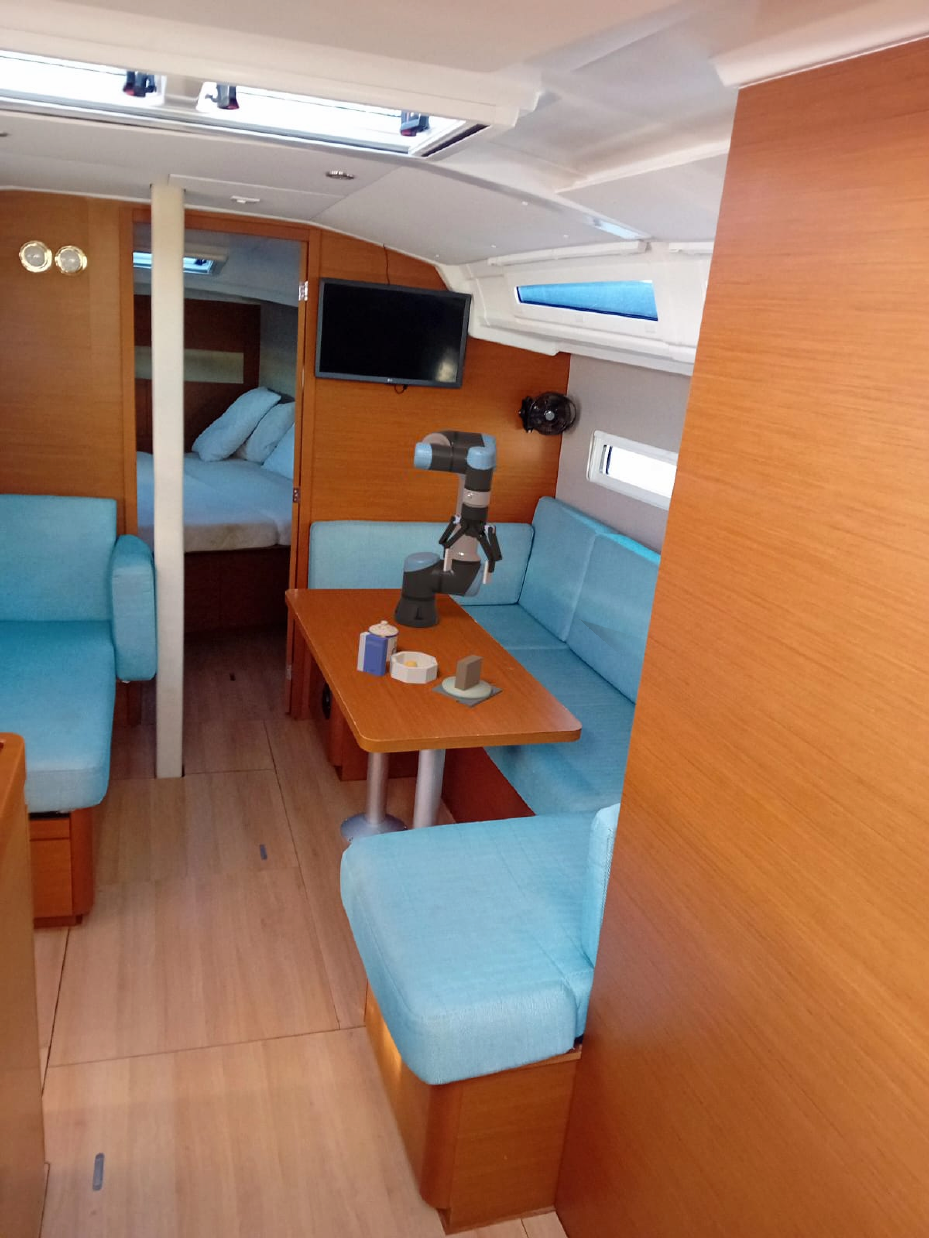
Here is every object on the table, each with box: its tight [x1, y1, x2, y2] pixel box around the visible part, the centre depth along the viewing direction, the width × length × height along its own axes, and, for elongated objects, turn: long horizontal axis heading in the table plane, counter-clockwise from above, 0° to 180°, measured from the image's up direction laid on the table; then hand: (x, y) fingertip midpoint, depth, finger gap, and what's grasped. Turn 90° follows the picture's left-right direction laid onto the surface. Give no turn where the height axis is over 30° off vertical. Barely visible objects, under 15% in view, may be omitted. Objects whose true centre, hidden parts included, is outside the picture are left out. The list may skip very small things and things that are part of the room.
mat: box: [430, 683, 503, 708], centre depth 265 cm, size 16×14×1 cm
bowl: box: [388, 650, 439, 685], centre depth 270 cm, size 13×13×5 cm
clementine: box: [405, 661, 418, 667], centre depth 270 cm, size 4×4×4 cm
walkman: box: [356, 631, 388, 677], centre depth 267 cm, size 8×3×12 cm, turn 64°
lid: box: [441, 654, 492, 700], centre depth 263 cm, size 14×14×9 cm
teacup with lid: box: [367, 620, 400, 662], centre depth 281 cm, size 12×9×12 cm
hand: (466, 576), depth 266 cm, fingers open, 13 cm apart
